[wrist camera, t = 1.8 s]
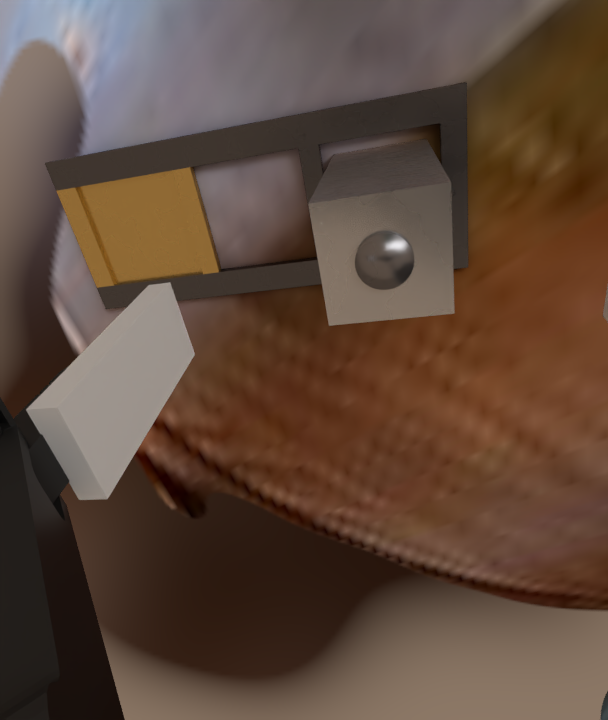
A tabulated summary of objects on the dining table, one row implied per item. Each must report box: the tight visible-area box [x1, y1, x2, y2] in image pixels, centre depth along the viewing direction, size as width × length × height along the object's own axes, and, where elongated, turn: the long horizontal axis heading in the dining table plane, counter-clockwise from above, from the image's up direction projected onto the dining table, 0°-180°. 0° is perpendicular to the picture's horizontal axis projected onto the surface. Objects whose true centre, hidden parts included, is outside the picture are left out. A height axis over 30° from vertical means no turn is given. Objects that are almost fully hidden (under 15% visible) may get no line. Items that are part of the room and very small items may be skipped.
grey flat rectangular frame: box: [45, 82, 468, 309], centre depth 29 cm, size 10×24×1 cm, turn 100°
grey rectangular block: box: [308, 139, 454, 326], centre depth 23 cm, size 5×5×11 cm
